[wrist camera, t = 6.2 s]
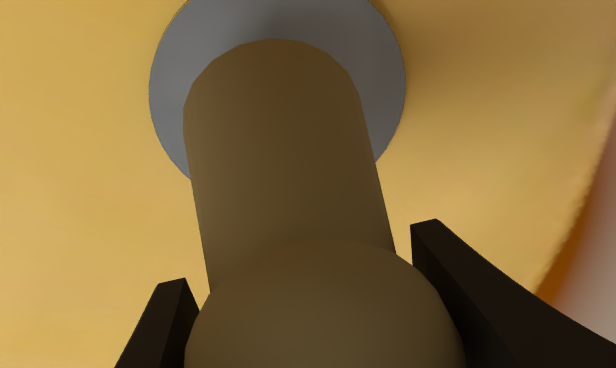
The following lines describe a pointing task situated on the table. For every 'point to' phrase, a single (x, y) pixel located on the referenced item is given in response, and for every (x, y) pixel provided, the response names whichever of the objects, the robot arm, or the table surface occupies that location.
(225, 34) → the slate coaster
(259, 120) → the brown chess pawn
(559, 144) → the table surface
